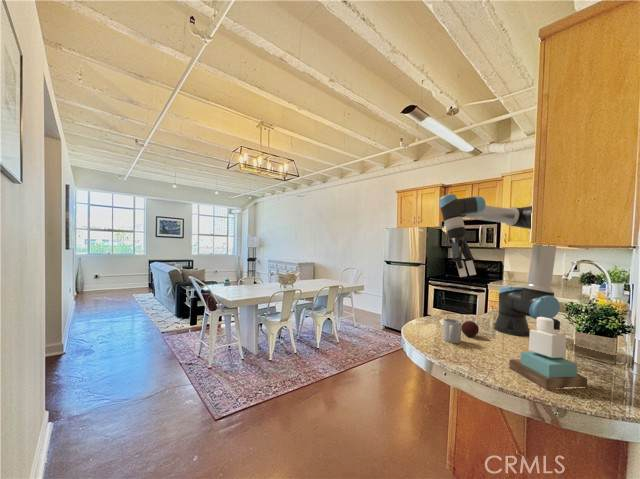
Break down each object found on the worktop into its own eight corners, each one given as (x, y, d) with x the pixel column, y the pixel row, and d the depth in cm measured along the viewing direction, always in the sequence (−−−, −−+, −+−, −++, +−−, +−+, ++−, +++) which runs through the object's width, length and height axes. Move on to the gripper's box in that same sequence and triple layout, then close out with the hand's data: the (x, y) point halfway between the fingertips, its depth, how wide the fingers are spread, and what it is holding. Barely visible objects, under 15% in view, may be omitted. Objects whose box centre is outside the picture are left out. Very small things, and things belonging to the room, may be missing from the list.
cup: (460, 339, 125) (461, 320, 125) (460, 346, 116) (461, 325, 116) (443, 336, 128) (444, 317, 129) (441, 343, 120) (442, 322, 120)
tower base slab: (544, 370, 98) (545, 358, 98) (586, 391, 84) (587, 378, 85) (509, 370, 97) (509, 359, 97) (546, 392, 83) (546, 379, 83)
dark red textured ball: (477, 334, 133) (477, 320, 133) (479, 339, 126) (479, 324, 126) (460, 332, 136) (461, 318, 136) (461, 337, 129) (462, 322, 129)
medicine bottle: (541, 350, 95) (543, 316, 96) (566, 358, 89) (567, 320, 90) (528, 350, 93) (529, 314, 94) (552, 358, 86) (553, 319, 87)
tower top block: (546, 362, 95) (546, 351, 95) (577, 376, 85) (577, 363, 85) (520, 363, 94) (521, 351, 94) (548, 377, 84) (549, 364, 84)
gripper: (455, 232, 133) (467, 275, 129) (436, 228, 115) (449, 278, 111) (472, 228, 128) (485, 273, 124) (454, 223, 110) (469, 275, 106)
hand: (468, 275), depth 117 cm, fingers open, 13 cm apart
